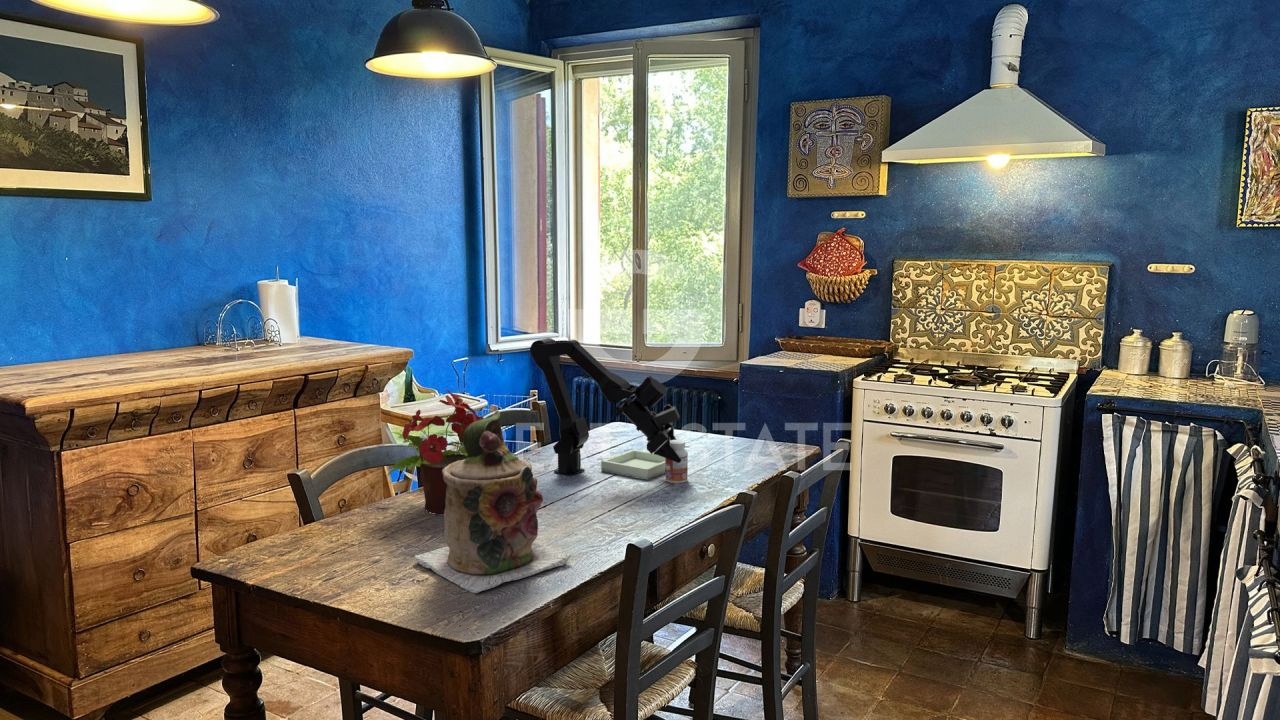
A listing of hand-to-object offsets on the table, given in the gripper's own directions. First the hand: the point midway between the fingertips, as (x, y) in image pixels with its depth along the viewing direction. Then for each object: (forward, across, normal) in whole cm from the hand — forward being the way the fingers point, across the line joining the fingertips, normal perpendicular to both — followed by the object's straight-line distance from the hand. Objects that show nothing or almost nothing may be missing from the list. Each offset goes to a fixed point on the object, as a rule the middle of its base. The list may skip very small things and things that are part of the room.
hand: (681, 457), depth 245 cm
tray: (-4, +11, +14) cm, 18 cm away
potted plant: (-35, -27, +45) cm, 63 cm away
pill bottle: (+4, 0, +6) cm, 7 cm away
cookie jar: (-20, -65, +30) cm, 74 cm away
